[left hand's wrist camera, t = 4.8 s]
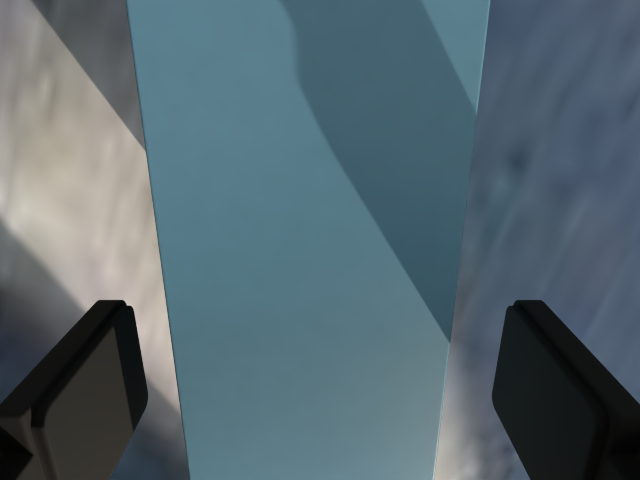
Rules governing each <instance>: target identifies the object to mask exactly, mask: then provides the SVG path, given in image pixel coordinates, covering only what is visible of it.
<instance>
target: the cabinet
mask: <svg viewBox="0 0 640 480" xmlns="http://www.w3.org/2000/svg"><path fill="white" fill-rule="evenodd" d="M126 6H127V14H128V21H129V28H130V36H131V43H132V51H133V58H134V66H135V73H136V81H137V88H138V96H139V103H140V110H141V118H142V125H143V133H144V140H145V148H146V155H147V163H148V170H149V178H150V185H151V193H152V200H153V207H154V215H155V222H156V230H157V237H158V245H159V252H160V260H161V267H162V275H163V282H164V289H165V297H166V304H167V312H168V319H169V327H170V334H171V342H172V349H173V357H174V364H175V372H176V379H177V386H178V394H179V401H180V409H181V416H182V424H183V431H184V439H185V446H186V454H187V461H188V468H189V476H190V480H434V476H435V467H436V459H437V450H438V442H439V433H440V424H441V416H442V407H443V399H444V390H445V382H446V373H447V365H448V356H449V348H450V339H451V331H452V322H453V314H454V305H455V297H456V288H457V280H458V271H459V263H460V254H461V246H462V237H463V229H464V220H465V212H466V203H467V195H468V186H469V178H470V169H471V161H472V152H473V144H474V135H475V127H476V118H477V109H478V101H479V92H480V84H481V75H482V67H483V58H484V50H485V41H486V33H487V24H488V16H489V7H490V0H126Z"/></svg>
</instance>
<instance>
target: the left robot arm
mask: <svg viewBox="0 0 640 480" xmlns="http://www.w3.org/2000/svg"><path fill="white" fill-rule="evenodd" d="M147 401H148V391H147V385H146V379H145V373H144V367H143V362H142V356H141V350H140V344H139V338H138V332H137V327H136V321H135V315H134V310H133V308H132V307H131V306H127V305H126V303H125V301H123V300H98V301H97V302H96V303H95V304H94V305H93V306H92V307H91V308H90V309H89V310H88V311H87V312H86V314H85V315H84V316H83V317H82V318H81V319H80V320H79V321H78V322H77V323H76V324H75V325H74V326H73V327H72V328H71V330H70V331H69V332H68V333H67V334H66V335H65V336H64V337H63V338H62V339H61V340H60V341H59V342H58V343H57V344H56V346H55V347H54V348H53V349H52V350H51V351H50V352H49V353H48V354H47V355H46V356H45V357H44V358H43V359H42V360H41V362H40V363H39V364H38V365H37V366H36V367H35V368H34V369H33V370H32V371H31V372H30V373H29V374H28V375H27V376H26V378H25V379H24V380H23V381H22V382H21V383H20V384H19V385H18V386H17V387H16V388H15V389H14V390H13V391H12V392H11V394H10V395H9V396H8V397H7V398H6V399H5V400H4V401H3V402H2V403H1V404H0V480H110V478H111V476H112V474H113V472H114V470H115V468H116V466H117V464H118V462H119V460H120V458H121V456H122V454H123V452H124V450H125V448H126V446H127V444H128V442H129V440H130V438H131V436H132V434H133V432H134V430H135V428H136V426H137V424H138V422H139V420H140V418H141V416H142V414H143V412H144V410H145V408H146V406H147ZM492 401H493V406H494V408H495V410H496V412H497V414H498V416H499V418H500V420H501V422H502V424H503V426H504V428H505V430H506V432H507V434H508V436H509V438H510V440H511V442H512V444H513V446H514V448H515V450H516V452H517V454H518V456H519V458H520V460H521V462H522V464H523V466H524V468H525V470H526V472H527V474H528V476H529V478H530V480H640V404H639V403H638V402H637V401H636V400H635V399H634V398H633V397H632V396H631V395H630V394H629V392H628V391H627V390H626V389H625V388H624V387H623V386H622V385H621V384H620V383H619V382H618V381H617V380H616V379H615V378H614V376H613V375H612V374H611V373H610V372H609V371H608V370H607V369H606V368H605V367H604V366H603V365H602V364H601V363H600V362H599V360H598V359H597V358H596V357H595V356H594V355H593V354H592V353H591V352H590V351H589V350H588V349H587V348H586V347H585V346H584V344H583V343H582V342H581V341H580V340H579V339H578V338H577V337H576V336H575V335H574V334H573V333H572V332H571V331H570V330H569V328H568V327H567V326H566V325H565V324H564V323H563V322H562V321H561V320H560V319H559V318H558V317H557V316H556V315H555V314H554V312H553V311H552V310H551V309H550V308H549V307H548V306H547V305H546V304H545V303H544V302H543V301H542V300H517V301H515V303H514V305H513V306H509V307H508V308H507V310H506V315H505V321H504V327H503V332H502V338H501V344H500V350H499V356H498V362H497V367H496V373H495V379H494V385H493V391H492Z"/></svg>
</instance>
